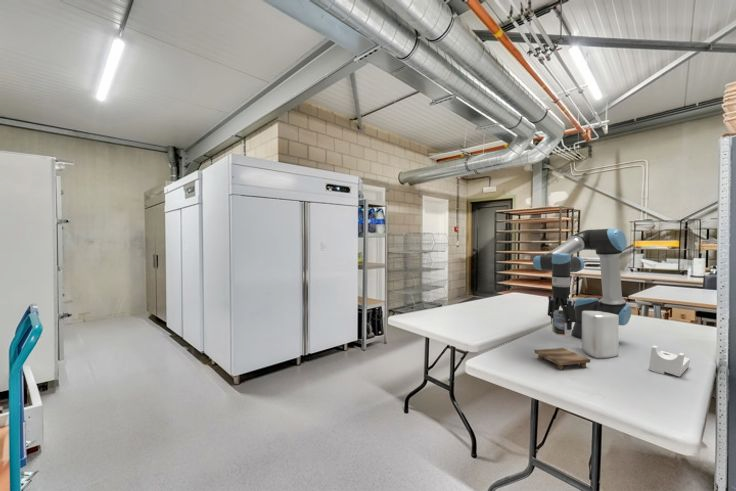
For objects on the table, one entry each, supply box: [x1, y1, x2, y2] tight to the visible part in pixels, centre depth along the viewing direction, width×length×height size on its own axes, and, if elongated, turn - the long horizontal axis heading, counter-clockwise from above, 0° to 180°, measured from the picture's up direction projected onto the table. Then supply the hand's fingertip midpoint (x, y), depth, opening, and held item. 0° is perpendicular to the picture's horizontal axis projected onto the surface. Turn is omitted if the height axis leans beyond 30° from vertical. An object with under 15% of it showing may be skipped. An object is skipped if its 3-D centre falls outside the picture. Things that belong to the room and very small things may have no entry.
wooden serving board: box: [534, 347, 591, 371], centre depth 150 cm, size 16×16×4 cm
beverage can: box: [553, 309, 566, 337], centre depth 150 cm, size 6×7×12 cm
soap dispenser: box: [581, 311, 620, 359], centre depth 159 cm, size 15×14×22 cm
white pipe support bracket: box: [648, 344, 691, 378], centre depth 141 cm, size 18×10×10 cm, turn 125°
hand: (561, 333), depth 150 cm, fingers closed on beverage can, 7 cm apart
